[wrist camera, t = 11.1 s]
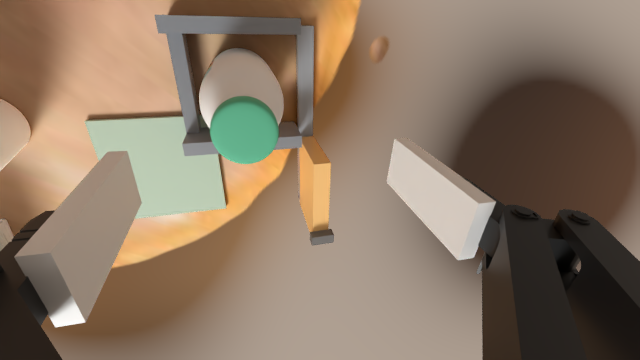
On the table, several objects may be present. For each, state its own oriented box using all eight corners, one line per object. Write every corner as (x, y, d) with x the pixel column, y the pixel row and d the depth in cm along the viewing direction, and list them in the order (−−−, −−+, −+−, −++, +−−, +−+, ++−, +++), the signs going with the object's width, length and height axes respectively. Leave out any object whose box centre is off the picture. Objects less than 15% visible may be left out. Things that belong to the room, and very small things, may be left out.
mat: (86, 119, 35) (84, 121, 34) (212, 114, 38) (211, 115, 37) (122, 217, 41) (120, 220, 41) (226, 206, 45) (226, 208, 44)
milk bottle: (227, 32, 34) (220, 47, 17) (283, 72, 38) (323, 117, 21) (196, 89, 36) (161, 153, 19) (252, 122, 40) (264, 201, 23)
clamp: (167, 15, 32) (154, 14, 27) (312, 18, 36) (324, 18, 31) (204, 207, 44) (200, 232, 39) (310, 195, 47) (319, 216, 42)
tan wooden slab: (296, 137, 41) (312, 169, 32) (316, 135, 41) (337, 167, 33) (297, 204, 46) (311, 247, 37) (315, 202, 47) (333, 244, 38)
